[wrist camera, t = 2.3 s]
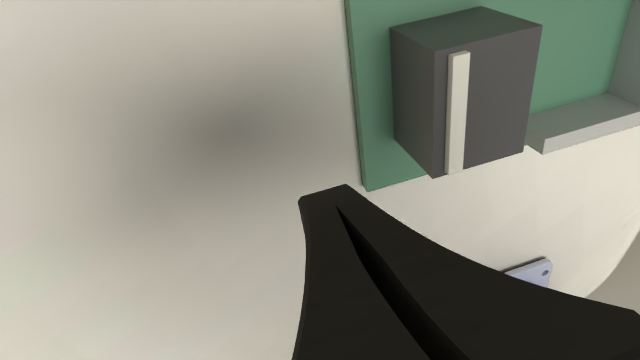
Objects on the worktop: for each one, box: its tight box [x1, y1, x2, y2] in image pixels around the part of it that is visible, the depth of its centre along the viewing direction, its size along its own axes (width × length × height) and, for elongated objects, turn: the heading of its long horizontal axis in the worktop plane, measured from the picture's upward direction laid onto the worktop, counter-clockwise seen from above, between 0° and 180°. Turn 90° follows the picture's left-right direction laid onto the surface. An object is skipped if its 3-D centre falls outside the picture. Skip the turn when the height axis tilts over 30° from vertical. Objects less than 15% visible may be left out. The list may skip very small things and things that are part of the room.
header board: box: [345, 0, 640, 192], centre depth 17 cm, size 11×15×4 cm
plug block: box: [389, 6, 543, 179], centre depth 17 cm, size 5×4×4 cm
